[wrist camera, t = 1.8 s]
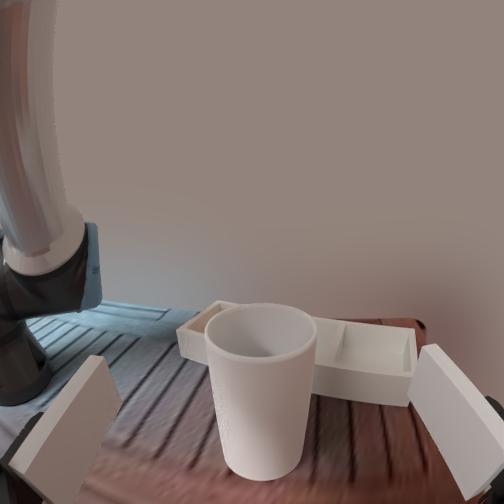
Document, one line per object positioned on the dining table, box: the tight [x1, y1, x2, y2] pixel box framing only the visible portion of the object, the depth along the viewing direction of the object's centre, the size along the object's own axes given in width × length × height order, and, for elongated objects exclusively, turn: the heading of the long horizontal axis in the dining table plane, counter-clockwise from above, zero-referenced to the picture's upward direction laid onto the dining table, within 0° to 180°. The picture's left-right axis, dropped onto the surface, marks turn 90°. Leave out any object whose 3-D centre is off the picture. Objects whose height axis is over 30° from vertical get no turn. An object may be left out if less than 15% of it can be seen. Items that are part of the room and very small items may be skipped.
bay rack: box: [176, 300, 418, 407], centre depth 39 cm, size 34×12×5 cm, turn 64°
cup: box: [205, 303, 317, 481], centre depth 22 cm, size 8×8×16 cm
